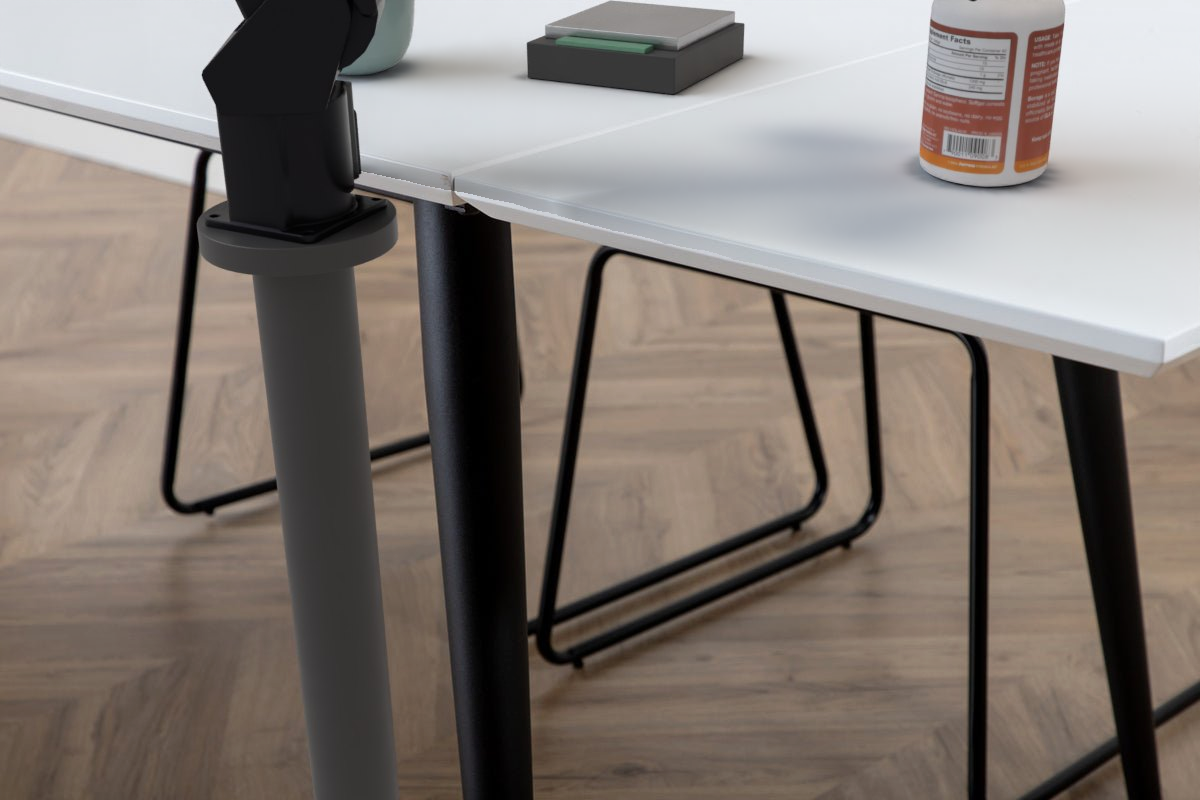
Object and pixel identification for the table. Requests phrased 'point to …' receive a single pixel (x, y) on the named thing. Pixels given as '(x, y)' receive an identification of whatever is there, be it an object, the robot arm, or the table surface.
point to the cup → (387, 39)
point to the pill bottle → (990, 89)
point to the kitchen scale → (637, 46)
